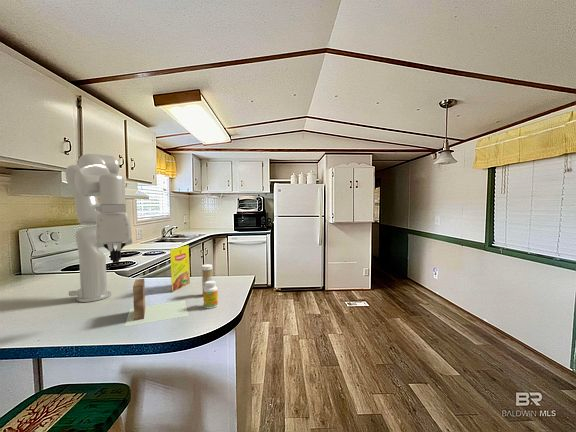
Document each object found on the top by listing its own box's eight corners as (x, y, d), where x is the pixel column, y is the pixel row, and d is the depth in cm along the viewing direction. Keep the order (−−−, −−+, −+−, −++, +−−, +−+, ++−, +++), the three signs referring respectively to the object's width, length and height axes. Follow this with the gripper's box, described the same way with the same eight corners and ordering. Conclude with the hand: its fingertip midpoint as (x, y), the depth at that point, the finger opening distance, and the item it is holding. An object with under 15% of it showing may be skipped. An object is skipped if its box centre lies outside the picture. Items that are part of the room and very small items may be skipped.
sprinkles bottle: (200, 295, 123) (199, 265, 123) (209, 292, 127) (208, 263, 126) (206, 297, 120) (205, 266, 120) (215, 294, 124) (214, 264, 123)
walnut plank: (134, 320, 96) (132, 286, 95) (136, 310, 105) (135, 279, 104) (144, 318, 97) (142, 285, 97) (145, 309, 106) (144, 278, 106)
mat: (124, 327, 91) (124, 326, 91) (130, 309, 107) (130, 308, 107) (188, 316, 99) (188, 315, 99) (184, 301, 116) (184, 300, 116)
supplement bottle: (205, 309, 106) (204, 284, 106) (202, 305, 111) (202, 281, 110) (219, 307, 108) (218, 282, 108) (216, 302, 113) (215, 279, 113)
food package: (172, 292, 128) (171, 249, 127) (170, 292, 128) (169, 249, 128) (190, 283, 143) (189, 244, 142) (188, 283, 143) (187, 244, 143)
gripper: (84, 210, 90) (87, 266, 90) (136, 209, 96) (139, 261, 97) (90, 210, 97) (92, 262, 97) (138, 209, 103) (140, 258, 103)
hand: (115, 262), depth 97 cm, fingers closed
